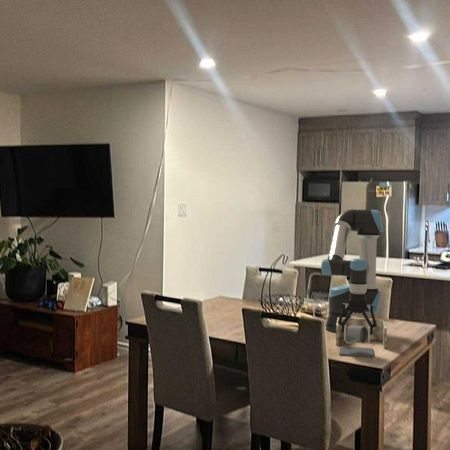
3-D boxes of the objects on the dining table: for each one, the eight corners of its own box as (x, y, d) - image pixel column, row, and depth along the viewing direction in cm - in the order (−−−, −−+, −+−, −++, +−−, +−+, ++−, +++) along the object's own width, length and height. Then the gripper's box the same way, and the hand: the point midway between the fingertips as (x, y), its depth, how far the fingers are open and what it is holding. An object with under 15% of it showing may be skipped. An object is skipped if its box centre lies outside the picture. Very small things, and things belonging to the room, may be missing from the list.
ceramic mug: (352, 338, 266) (353, 322, 266) (368, 341, 261) (368, 325, 260) (340, 342, 259) (340, 326, 258) (356, 346, 253) (356, 329, 253)
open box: (335, 345, 273) (336, 324, 272) (337, 336, 290) (337, 317, 289) (386, 349, 268) (386, 328, 267) (384, 339, 284) (385, 320, 284)
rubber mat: (339, 355, 256) (339, 353, 256) (340, 347, 269) (340, 346, 269) (373, 357, 253) (373, 356, 253) (372, 350, 266) (372, 348, 266)
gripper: (332, 292, 258) (331, 340, 260) (384, 295, 253) (382, 344, 254) (333, 290, 266) (332, 336, 267) (383, 292, 261) (381, 340, 262)
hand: (356, 340), depth 261 cm, fingers closed on ceramic mug, 10 cm apart
